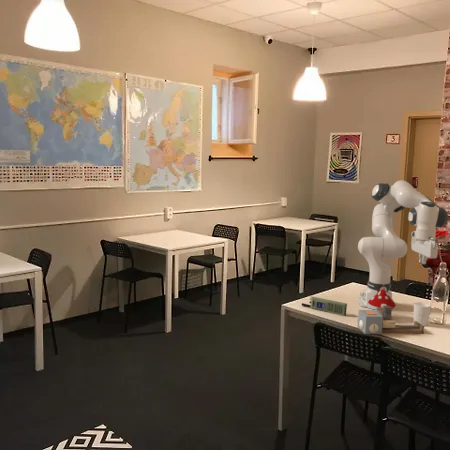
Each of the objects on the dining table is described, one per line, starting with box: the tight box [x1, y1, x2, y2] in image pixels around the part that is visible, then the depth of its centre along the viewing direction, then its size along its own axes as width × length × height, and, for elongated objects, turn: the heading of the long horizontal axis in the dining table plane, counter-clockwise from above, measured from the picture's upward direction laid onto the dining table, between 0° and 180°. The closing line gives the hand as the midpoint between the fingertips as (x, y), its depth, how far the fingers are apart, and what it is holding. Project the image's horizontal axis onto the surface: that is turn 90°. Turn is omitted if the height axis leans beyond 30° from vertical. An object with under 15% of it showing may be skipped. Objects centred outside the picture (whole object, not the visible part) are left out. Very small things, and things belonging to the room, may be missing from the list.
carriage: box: [382, 306, 397, 328], centre depth 233 cm, size 7×6×9 cm
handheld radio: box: [301, 296, 348, 317], centre depth 261 cm, size 7×3×25 cm
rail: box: [382, 321, 425, 335], centre depth 234 cm, size 8×21×4 cm, turn 95°
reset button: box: [365, 311, 376, 315], centre depth 232 cm, size 4×4×3 cm
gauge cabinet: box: [356, 309, 383, 335], centre depth 232 cm, size 10×8×8 cm
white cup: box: [412, 301, 432, 327], centre depth 245 cm, size 8×8×10 cm
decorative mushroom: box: [368, 289, 397, 315], centre depth 252 cm, size 14×14×15 cm
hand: (422, 263), depth 238 cm, fingers closed
